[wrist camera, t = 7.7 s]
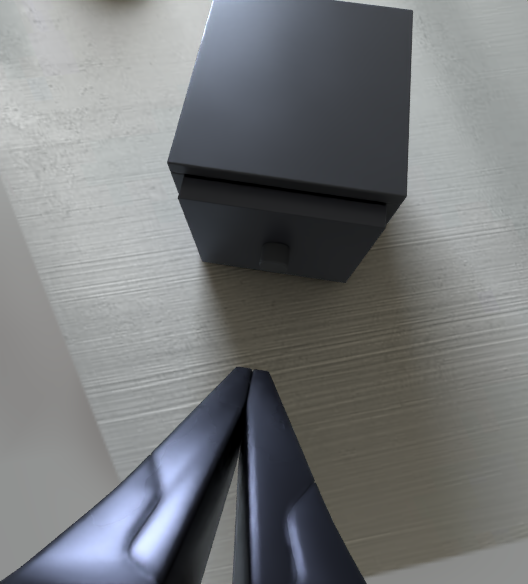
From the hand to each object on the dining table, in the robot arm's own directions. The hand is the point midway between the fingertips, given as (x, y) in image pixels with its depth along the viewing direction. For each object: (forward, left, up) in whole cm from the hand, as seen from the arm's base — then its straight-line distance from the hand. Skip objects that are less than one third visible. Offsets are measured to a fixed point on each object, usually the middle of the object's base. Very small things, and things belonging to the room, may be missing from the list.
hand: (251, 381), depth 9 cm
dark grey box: (+4, +15, -14) cm, 20 cm away
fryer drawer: (+3, +12, -13) cm, 18 cm away
